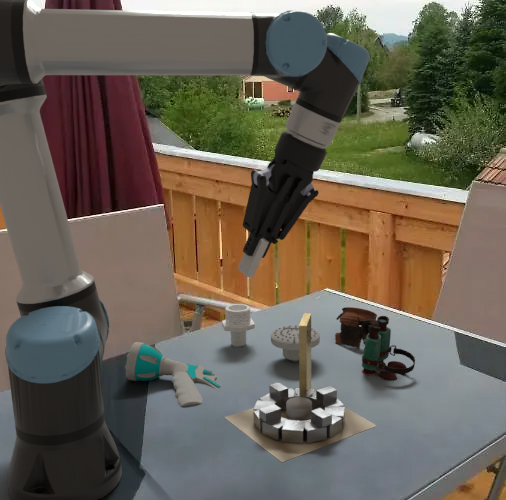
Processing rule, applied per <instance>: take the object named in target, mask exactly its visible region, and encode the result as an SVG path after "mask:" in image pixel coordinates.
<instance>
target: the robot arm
mask: <svg viewBox="0 0 506 500" xmlns="http://www.w3.org/2000/svg"><path fill="white" fill-rule="evenodd" d="M370 57H371V56H370V52H369V51H368V49H366V48H365V47H363V46H362V45H359V44H358V43H356V42H353V41H352V40H350V39H347V38H344V37H343V36H339V35H338V34H335V33H333V32H329V33H326V30H325V27H324V26H323V24H322V22H321V21H320V20H319V19H318V18H317V17H316V16H315V15H313V14H311V13H309V12H307V11H303V10H286V11H284V12H281V13H265V12H264V13H263V12H262V13H261V12H260V13H257V12H256V13H255V12H219V11H218V12H215V11H172V10H171V11H168V10H167V11H165V10H164V11H163V10H159V11H158V10H121V9H120V10H119V9H117V10H116V9H113V10H112V9H73V8H71V9H66V8H60V9H59V8H41V7H39V6H38V5H37V4H36V3H35V2H34V1H33V0H0V209H1V213H2V217H3V220H4V224H5V228H6V231H7V235H8V238H9V242H10V245H11V248H12V251H13V254H14V255H13V256H14V259H15V262H16V264H17V268H18V272H19V275H20V278H21V283H22V284H21V287H20V289H19V290H18V292H17V294H16V295H15V301H16V304H17V308H18V311H19V315H20V317H19V318H17V319H16V320H15V321H14V322H13V323H12V324H11V325H10V326H9V327H8V329H7V332H6V335H5V351H4V353H5V354H4V355H5V361H6V364H7V369H8V377H9V378H8V379H9V384H10V385H9V386H10V393H11V394H10V395H11V401H12V410H13V417H14V418H13V420H14V426H15V437H16V438H15V442H14V447H13V451H12V454H11V458H10V464H9V467H8V470H7V471H8V472H7V477H6V478H7V487H8V494H9V495H8V496H9V498H10V499H11V500H98V499H100V498H101V499H103V498H105V496H107V495H108V493H109V494H110V493H111V492H112V491H113V490H114V489H115V488H116V487H117V485H118V484H119V482H120V481H121V478H122V474H123V469H122V458H121V453H120V451H119V450H118V447H117V445H116V443H115V440H114V438H113V436H112V433H111V432H110V429H109V427H108V426H107V424H106V418H105V406H104V405H105V404H104V391H103V382H102V381H103V380H102V379H103V378H102V365H103V359H104V354H105V349H106V345H107V344H106V343H107V340H108V338H109V333H110V331H109V330H110V319H109V315H108V310H107V308H106V306H105V304H104V302H103V301H102V300H101V298H100V297H99V293H98V289H97V285H96V282H95V279H94V276H93V275H92V274H90V273H88V272H86V271H84V270H83V269H82V268H81V264H80V261H79V258H78V257H79V256H78V253H77V250H76V245H75V241H74V238H73V235H72V231H71V228H70V227H71V226H70V224H69V223H70V222H69V219H68V215H67V211H66V208H65V205H64V200H63V196H62V192H61V190H60V185H59V181H58V178H57V173H56V170H55V166H54V163H53V162H54V161H53V159H52V154H51V151H50V147H49V142H48V139H47V135H46V131H45V128H44V123H43V120H42V116H41V112H40V111H41V109H42V106H43V104H44V102H45V101H46V99H47V98H48V97H47V93H46V92H47V91H46V88H45V83H44V80H43V79H44V77H45V76H247V77H248V76H254V77H265V78H267V79H269V80H272V81H274V82H276V83H279V84H281V85H283V86H285V87H288V88H290V89H291V90H294V91H297V92H299V93H298V96H297V98H296V100H295V103H294V105H293V107H292V108H291V111H290V114H289V115H288V118H287V120H286V122H285V125H284V126H285V128H286V129H287V130H284V131H283V132H281V133H280V137H279V138H278V141H277V143H276V145H275V148H274V157H273V158H272V160H271V161H270V162H269V163H268V164H267V167H266V168H264V169H261V170H258V169H252V171H250V179H251V180H250V181H251V185H250V186H251V187H250V190H249V194H248V199H247V204H246V207H245V208H246V209H245V212H244V216H243V221H242V227H243V228H244V229H245V230H246V231H247V232H249V234H248V237H247V239H246V241H245V244H244V246H243V248H242V252H243V255H242V256H241V259H240V261H239V264H238V265H237V268H236V269H237V270H239V272H240V273H242V275H244V276H245V277H247V278H254V275H256V271H257V270H258V267H259V265H260V263H261V261H262V259H264V258H265V257H266V255H267V253H268V251H269V249H270V247H271V245H272V244H273V245H276V244H277V243H279V240H280V241H282V240H283V241H284V240H285V238H286V237H287V236H288V234H289V233H290V232H291V230H292V229H293V227H294V225H295V224H296V223H297V221H298V219H299V218H300V217H301V215H302V214H303V212H304V211H305V210H306V208H307V206H308V205H309V203H311V202H312V201H313V200H314V199H316V197H318V195H319V194H320V193H319V190H318V189H316V188H315V187H314V185H313V184H312V182H313V180H314V173H315V172H318V171H320V168H321V166H322V164H323V162H324V160H325V157H327V156H326V155H327V153H328V152H327V149H326V147H330V146H331V144H332V142H333V141H334V138H335V135H336V133H337V131H338V130H339V127H340V125H341V122H342V121H343V119H344V115H345V114H346V113H347V110H348V108H349V106H350V104H351V102H352V100H353V97H354V96H355V93H356V92H357V90H358V88H359V86H360V84H361V83H362V79H363V77H364V75H365V72H366V69H367V67H368V64H369V63H370V62H369V61H370ZM101 499H100V500H101Z"/></svg>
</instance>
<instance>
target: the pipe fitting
mask: <svg viewBox="0 0 506 500" xmlns="http://www.w3.org/2000/svg"><path fill="white" fill-rule="evenodd" d="M224 311H225V319H223V320H221V325H222V328H223V330H224V332H229V333H230V343H231V345H232V347H239V348H240V347H244V346H245V345H247V332H248V331H250V330H254V329H255V322H254V320H253V319H252V317H251V307H250V306H249V305H247V304H245V303H235V304H234V303H233V304H230V305H227V306H226V307H225V309H224Z"/></svg>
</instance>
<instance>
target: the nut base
mask: <svg viewBox="0 0 506 500" xmlns="http://www.w3.org/2000/svg"><path fill="white" fill-rule="evenodd" d="M313 389H314V392H315V391H316V389H315V388H313ZM344 407H345V406H344ZM253 409H254V407H252V408H248V409H245V410H243V411H240V412H236V413H233V414H230V415H227V416H224V417H223V418H224V419H225V420H227V421H228V422H229V423H230V424H232V425H233V426H235V428H237V429H238V430H240V431H241V432H242V433H243V434H245V435H246V436H247V437H249V439H251V440H252V441H254V442H255V443H256V444H257V445H259V446H260V447H261V448H262V449H264V450H265V451H267V452H268V453H269V454H270V455H272V456H273V457H274V458H276V459H277V460H278V461H279V462H280V463H285V462H287V461H290V460H292V459H295V458H297V457H299V456H303V455H305V454H308V453H310V452H313V451H315V450H318V449H321V448H323V447H326V446H329V445H331V444H333V443H336V442H338V441H341V440H345V439H347V438H349V437H352V436H354V435H357V434H359V433H362V432H365V431H367V430H370V429H374V428H375V427H377V426H378V425H376V424H375V423H373V422H371V421H370V420H368V419H366V418H364V417H363V416H361V415H359V414H358V413H356V412H354V411H352V410H351V409H349V408H348V407H345V420H344V426H343V428H342V430H341V431H340V432H338V433H337V434H335V435H334V436H332V437H331V438H328V437H327V439H326V440H321V441H316V442H311V443H307V442H306V441H305V440H304V441H303V443H293V442H282V439H280V440H276V439H273V438H271V437H269V436H266V435H264V434H263V433H262V432H260V431H259V430H258V428H257V427H256V425H255V424H254V414H253ZM311 411H312V401H311V400H309V399H307V398H304V397H294V398H290V399H288V400H287V402H286V409H284V410H282V411H281V417H283V418H285V419H288V420H298V421H305V420H310V419H311Z"/></svg>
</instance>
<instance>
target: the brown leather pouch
mask: <svg viewBox="0 0 506 500" xmlns="http://www.w3.org/2000/svg"><path fill="white" fill-rule="evenodd" d="M341 310H342V312H341V313H340V314H339V315H338V316H337V317H336V318H335V319H336V321H338V320H339V323H340V332H336V333H335V335H334V339H335V344H338V345H340V344H341V345H345V346H348V347H353V348H357V349H358V348H360V347H361V342H362V341H363V342H364V339H366V337H367V335H368V334H369V330H368V329H369V325H373V326H377V327H378V323H377V318H378V315H377V313H375V312H374V311H371V310H369V309H365V308H359V307H354V306H353V307H349V306H347V307H345V306H344V307H343V308H341Z"/></svg>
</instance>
